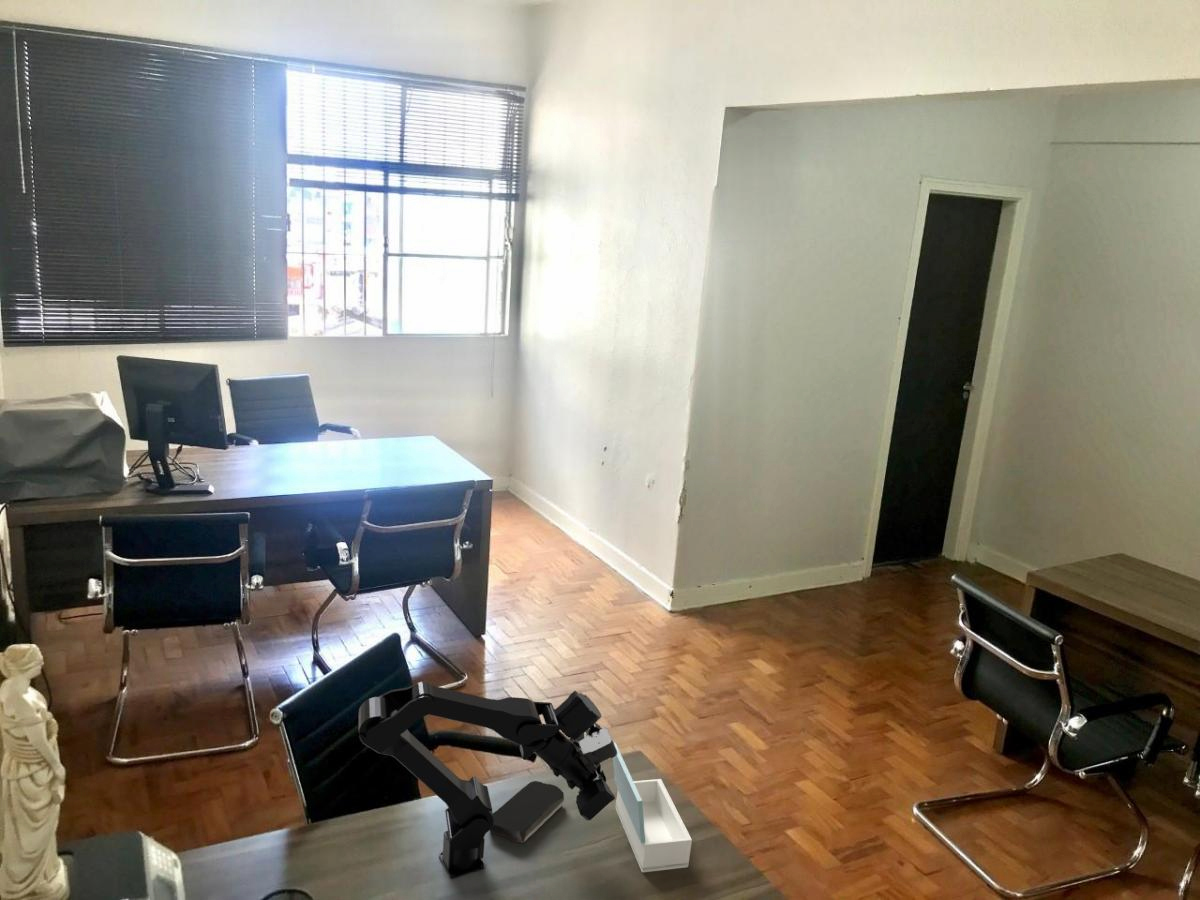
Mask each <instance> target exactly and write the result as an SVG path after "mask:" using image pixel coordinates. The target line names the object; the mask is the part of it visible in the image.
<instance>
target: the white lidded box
mask: <svg viewBox="0 0 1200 900" xmlns="http://www.w3.org/2000/svg"><path fill="white" fill-rule="evenodd" d="M633 782H634V784H635V786H636V788H637V790H638V793H639V795H640V797H641V799H642V805H643V818H644V831H645V843H642V844H641V842H640V840H639V837H638V835H637V833H636V830H635V828H634V826H633V823H632V821H631V819H630V816H629V814H628V812H627V809H626V807H625V805H624V802H623V800H622V798H621V795H620V793H619V791H618V790H617V792H616V799H615V800H616V801H615V810H616V813H617V815H618V818H619V820H620V822H621V826H622V827H623V830H624V832H625V835H626V838H627V839H628V842H629V844H630V847H631V849H632V852H633V854H634V857H635V859H636V862H637V864H638V867H639V868H640V870H641V873H650V872H659V871H665V870H667V871H669V870H674V869H675V870H676V869H684V868H689V864H690V863H689V862H690V855H691V850H692V842H693V840H692V838H691V835H690V833H689V831H688V829H687V828H686V825H685V824H684V821H683V820H682V817H681V816H680V813H679V812H678V810H677V808H676V806H675V803H674V802H673V799H672V798H671V796H670V794H669V792H668V790H667V788H666V786H665V784H664V782H663V780H662V778H657V779H646V780H644V779H643V780H633Z"/></svg>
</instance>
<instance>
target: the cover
mask: <svg viewBox="0 0 1200 900" xmlns="http://www.w3.org/2000/svg"><path fill="white" fill-rule="evenodd" d="M613 743H614V745H615V748H616V750H617V755H616V756H615V757H613V758H612V767H613V776H614V784H615V786H616V787H617V791H619V793H620V795H621V798H622V800H623V802H624V805H625V807H626V809H627V812H628V814H629V816H630V819H631V821H632V823H633V826H634V828H635V830H636V833H637V835H638V837H639V840H640V842H641V844H642V843H645V831H644V818H643V805H642V799H641V797H640V795H639V793H638V790H637V788H636V786H635V784H634V782H633V781H634V779H633V778H632V774H631V773H630V770H629V769H628V766H627V765H626V763H625V760H624V758H623V756H622V754H621V751H620V749H619V747H618V745H617V743H616V742H614V741H613Z"/></svg>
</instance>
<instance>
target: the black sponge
mask: <svg viewBox="0 0 1200 900" xmlns="http://www.w3.org/2000/svg"><path fill="white" fill-rule="evenodd" d="M564 795H565V793H564V792H563V790H562V789H561V788H560V787H558V786H557V785H554V784H550V783H545V782H541V781H538V780H533V781H530V782H528V783H527V784H526V785H525V786H524V787H522V789H520V790H519V791H518V792H517V793H516V794H514V795H513V796H512V797H511V798H510V799H508V800H507V801H506V802H505V803H504V804H502V806H500V807H499V808H498V809H497V810H495V811H493V817H494V823H493V826H492V828H491V829H490V830H489V831H490V832H492V833H493V834H495V835H496V834H497V835H500V836H504V837H505V838H507V839H508V840H510V841H512V842H516V843H524V842H526V841H527V840H528V838H530V837H531V836H533V834H535V832H536V831H538V829H540V827H542V826H543V824H545V822H547V821H548V820H549V819H550V818H551V817H552V816H553V815H554V814H555V813H556V812H558V810H559V809H560V808H561V807H562V806H563V805H564V804H563V803H564V800H565V798H564V797H565V796H564Z"/></svg>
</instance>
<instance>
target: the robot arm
mask: <svg viewBox="0 0 1200 900" xmlns="http://www.w3.org/2000/svg"><path fill="white" fill-rule="evenodd" d="M427 715H428V716H432V717H437V718H442V719H445V720H450V721H454V722H459V723H464V724H468V725H473V726H477V727H482V728H487V729H488V730H491V731H493V732H495V733H496V734H498V735H499V736H501V737H502V738H503V739H504V740H505V739H506V740H508V741H510V742H512V743H514V744H516V745H519V752H520V754H521V758H522V760H523V761H526V760H527V759H529V758H530V757H531V756H532V755H533V754H535V755H536V756H537V757H539V759H541V760H542V761H543V762H544V763H546V764H547V765H548V766H549V767H551V770H552V773H553V775H554V776H555V777H556V778H559V776H561V778H563V779H564V780H565V781H566V784H567V787H568V788H569V789H570V790H574V788H575V787H576V788H577V789H579V790H578V792H577V793H578V794H577V795H576V799H575V804H576V805H577V809H578V812H579V814H580V816H581V817H583V819H584V820H586V821H592V820H593V819H594V818H595V817H596V816H597V815H598V814H599V813H600V812H601V811H602V810H603V809H605V807H607V806H608V805H609V804H610V803H612V802H613V801H615V800H616V797H615V795H614V793H613V791H612V789H611V787H610V786H609V785H608V784H607V778H606V775H605V772H604V770H603V769H602V770H601V768H602V765H601V763H602V762H605V761H607V760H609V759H613V757H615V756H616V755H617V750H616V748H615V745H614V741H613V739H612V737H611V734H610V732H609V729H608V728H606V727H604V725H602V726H601V725H600V724H598V723H597V722H598V721H600V719H602V717H603V716H602V713H601V711H600V710H599V708H598V707H597V706H596V704H595V703H594V702H593V701H592V699H591V698H590V697H588V696H587V694H583V693H582V692H578V691H577V690H573V692H571V693H570V694H569V696H568V697H567V698H566V699H565V700H564V701H563V702H562V703H561V704H559V705H558V707H556V708H554V706H553V703H552V702H548V701H547V702H545V701H533V700H531V699H529V698H525V697H512V696H511V697H510V696H509V697H508V696H507V697H504V698H500V699H492V698H488V697H484V696H480V695H475V694H474V695H473V694H470V693H467V692H461V691H456V690H454V689H450V688H449V689H448V688H445V687H440V686H435V685H432V684H431V683H429V682H427V681H420V682H417V683H414V684H413V685H410V686H408V687H403V688H396V689H391V690H389V691H387V692H384V693H383V694H381V695H379V696H374V697H371V698H367V699H366V700H364V702H362V703H361V705H360V707H359V709H358V738H359V740H360V742H361V743H362V744H363V745H365V746H366V747H367V748H369V749H371V750H373V751H374V752H375V753H377V754H380V755H386V756H391V757H393V758H395V760H396V761H398V763H400V764H401V765H402V766H403V767H405V768H406V769H407V771H409V772H410V773H411V774H412V775H413V776H415V778H416V779H418V780H419V781H420V782H421V783H422V784H423V785H424V786H425V787H427V788H428V789H429V790H430V791H431V792H432V793H433V794H434V795H435V796H436V797H438V799H441V801H442V802H443V803H445V805H446V806H447V807H446V809H445V811H444V813H445V820H446V827H447V830H446V831H444V832H443V842H442V851H441V852H439V853H438V856H439V859H440V861H441V863H442V865H443V867H444V868H445V870H446V872H447V874H448V876H449V878H451V879H456V878H459V877H461V876H465V875H468V874H471V873H473V872H478V871H481V870H483V869H485V866H486V865H485V863H484V862H483V860H482V859H483V858H484V857H485V842H486V841H485V840H486V839H485V836H486V834H487V833H488V832H489V831H490V829H491V828H492V826H493V823H494V817H493V813H494V811H493V807H492V801H491V797H490V792H489V788H488V786H487V785H484V784H483V783H481V782H480V780H478V777H477V776H475V775H472V777H471V778H470V779H469V780H465V779H462V778H460V777H459V776H458V775H457V774H456V773H454V772H453V771H452V770H451V769H450V768H449V767H448V766H447V765H446V764H444V763H443V762H442V761H441V760H440V759H439V758H438V756H436V755H435V754H434V753H433V752H431V750H429V749H428V748H427V746H425V745H424V744H423V743H422V742H421V741H419V740H418V739H417V737H415V736H414V735H413V734H412V733H411V732H410V731H409V729H410V727H412V726H413V725H414V724H415V723H417V721H418V720H420V719H422V718H424V717H426V716H427ZM541 716H542V717H543V721H544V723H543V722H542V719H541Z"/></svg>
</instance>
